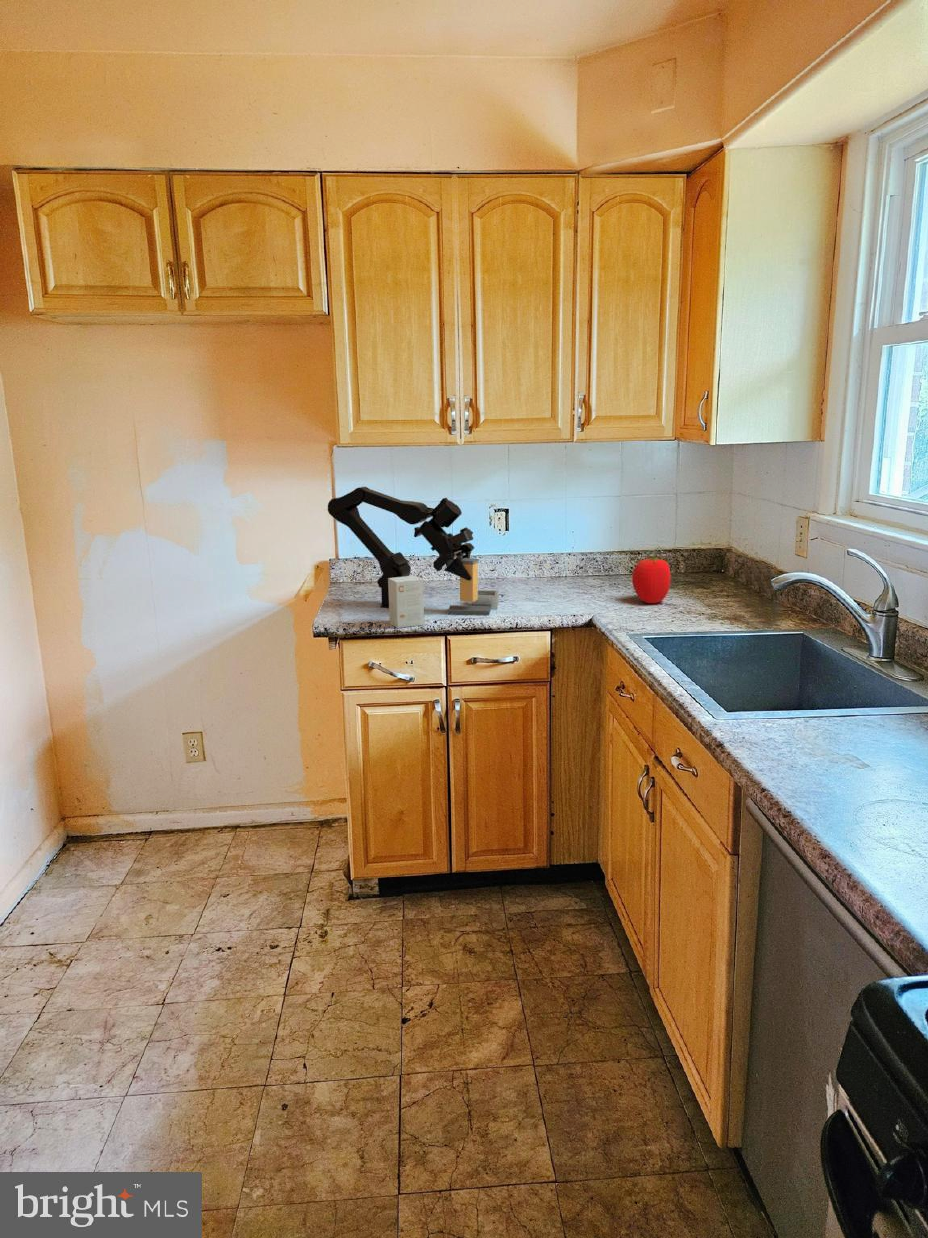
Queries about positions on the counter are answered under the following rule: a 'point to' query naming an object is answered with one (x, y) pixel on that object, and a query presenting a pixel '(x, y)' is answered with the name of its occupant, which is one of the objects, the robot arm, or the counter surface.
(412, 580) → the small box
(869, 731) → the counter surface
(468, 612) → the rubber mat
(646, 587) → the tomato
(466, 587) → the grey capped orange post
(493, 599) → the socket
